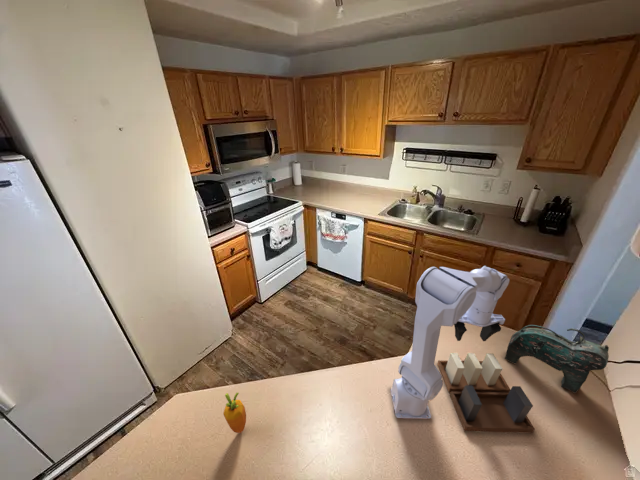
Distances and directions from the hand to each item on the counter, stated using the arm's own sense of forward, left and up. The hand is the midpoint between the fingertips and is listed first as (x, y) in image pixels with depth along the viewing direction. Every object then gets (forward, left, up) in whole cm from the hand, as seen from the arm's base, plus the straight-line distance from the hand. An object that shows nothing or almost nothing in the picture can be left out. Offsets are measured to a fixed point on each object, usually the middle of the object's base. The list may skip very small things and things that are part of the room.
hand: (469, 338), depth 80 cm
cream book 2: (-1, -7, -10) cm, 12 cm away
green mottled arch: (+22, -5, -10) cm, 24 cm away
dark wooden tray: (0, -17, -10) cm, 19 cm away
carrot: (-67, -23, -10) cm, 72 cm away
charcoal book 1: (-7, -17, -10) cm, 20 cm away
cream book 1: (-6, -7, -10) cm, 13 cm away
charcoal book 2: (+6, -17, -10) cm, 20 cm away
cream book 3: (+4, -7, -10) cm, 12 cm away
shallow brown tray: (0, -7, -10) cm, 12 cm away
